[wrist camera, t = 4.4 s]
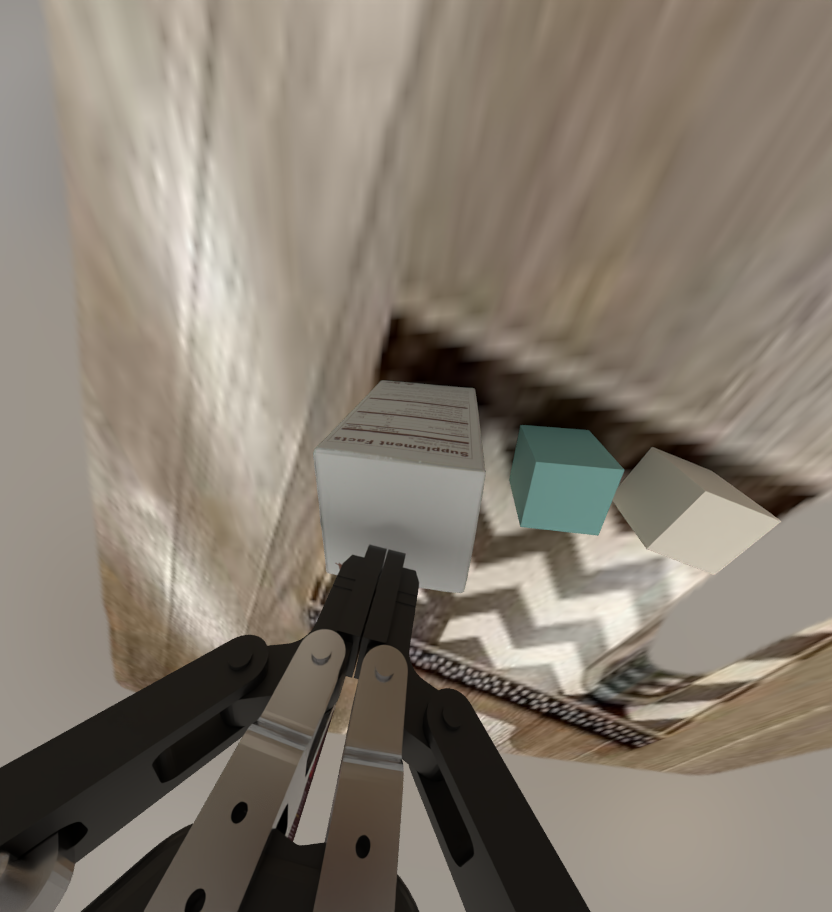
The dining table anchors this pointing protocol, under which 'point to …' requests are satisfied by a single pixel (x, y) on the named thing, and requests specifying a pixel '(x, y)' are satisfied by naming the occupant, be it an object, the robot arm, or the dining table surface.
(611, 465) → the teal block
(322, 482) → the supplement box
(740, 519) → the cream block
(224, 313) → the dining table surface
